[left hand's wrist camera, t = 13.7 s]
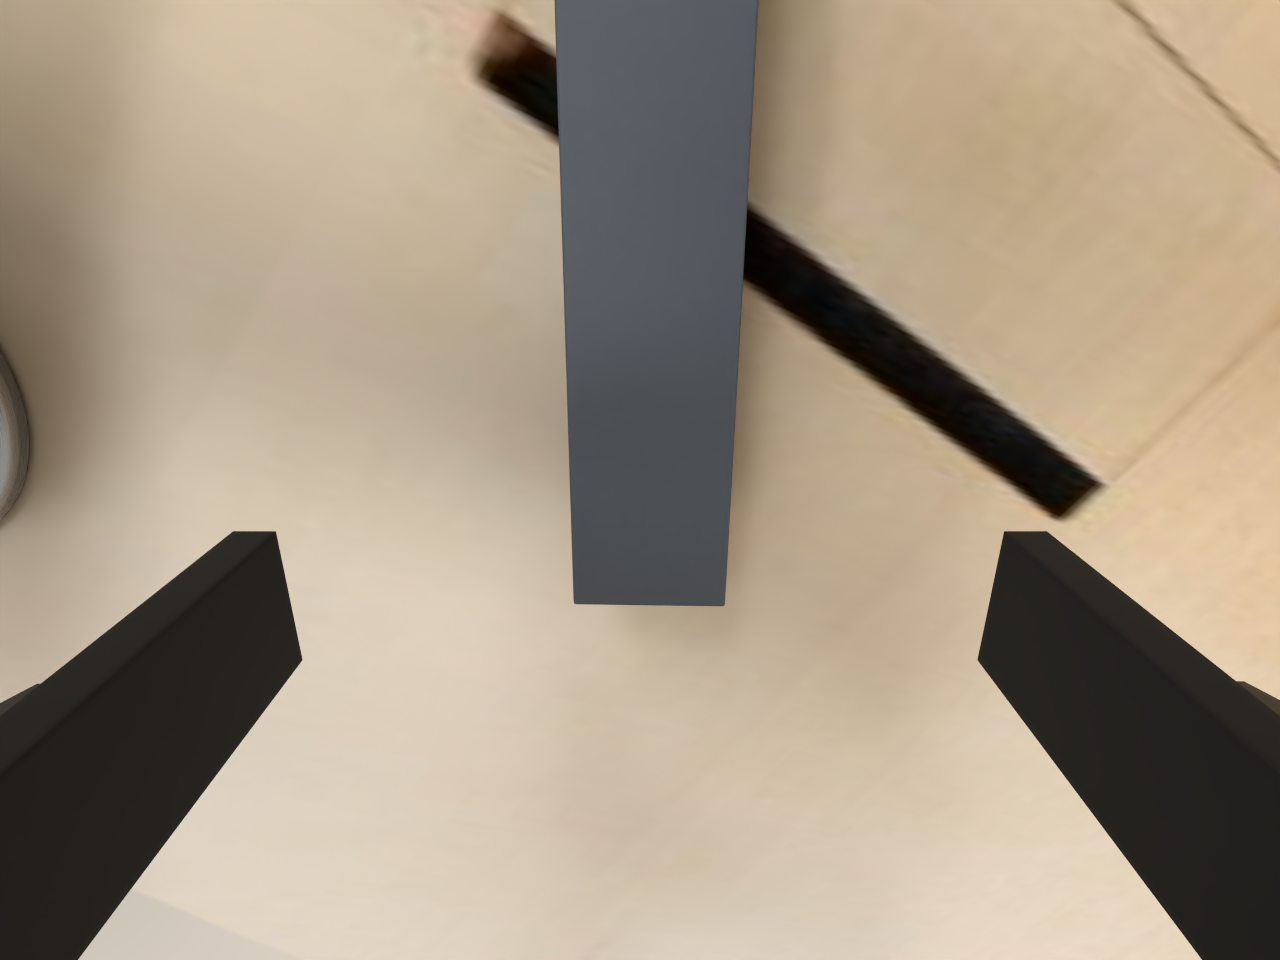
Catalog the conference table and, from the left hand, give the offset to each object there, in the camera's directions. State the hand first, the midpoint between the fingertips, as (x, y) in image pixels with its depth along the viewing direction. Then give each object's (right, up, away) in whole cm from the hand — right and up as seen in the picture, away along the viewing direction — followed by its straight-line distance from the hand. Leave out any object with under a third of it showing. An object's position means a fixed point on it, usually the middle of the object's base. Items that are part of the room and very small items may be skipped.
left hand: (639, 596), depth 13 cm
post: (+1, +36, +6) cm, 37 cm away
